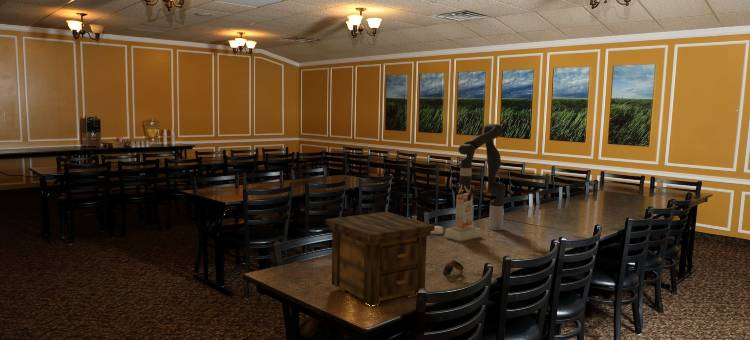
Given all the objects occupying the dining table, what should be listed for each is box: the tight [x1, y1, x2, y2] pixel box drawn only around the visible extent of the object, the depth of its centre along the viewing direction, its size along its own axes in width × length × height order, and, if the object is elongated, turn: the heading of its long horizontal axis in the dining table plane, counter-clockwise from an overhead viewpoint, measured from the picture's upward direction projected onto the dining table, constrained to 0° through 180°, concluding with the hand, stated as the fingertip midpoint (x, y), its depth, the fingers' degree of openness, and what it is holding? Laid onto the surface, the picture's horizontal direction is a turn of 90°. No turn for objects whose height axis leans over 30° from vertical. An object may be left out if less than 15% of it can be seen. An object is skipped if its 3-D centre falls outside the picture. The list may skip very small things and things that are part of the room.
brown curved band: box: [442, 259, 465, 277], centre depth 266 cm, size 12×10×8 cm
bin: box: [444, 225, 482, 242], centre depth 345 cm, size 13×21×6 cm, turn 129°
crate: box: [324, 211, 436, 306], centre depth 237 cm, size 35×35×33 cm
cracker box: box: [454, 192, 474, 228], centre depth 343 cm, size 14×6×21 cm, turn 145°
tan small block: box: [431, 225, 444, 235], centre depth 357 cm, size 8×8×4 cm
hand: (464, 199), depth 343 cm, fingers closed on cracker box, 6 cm apart
